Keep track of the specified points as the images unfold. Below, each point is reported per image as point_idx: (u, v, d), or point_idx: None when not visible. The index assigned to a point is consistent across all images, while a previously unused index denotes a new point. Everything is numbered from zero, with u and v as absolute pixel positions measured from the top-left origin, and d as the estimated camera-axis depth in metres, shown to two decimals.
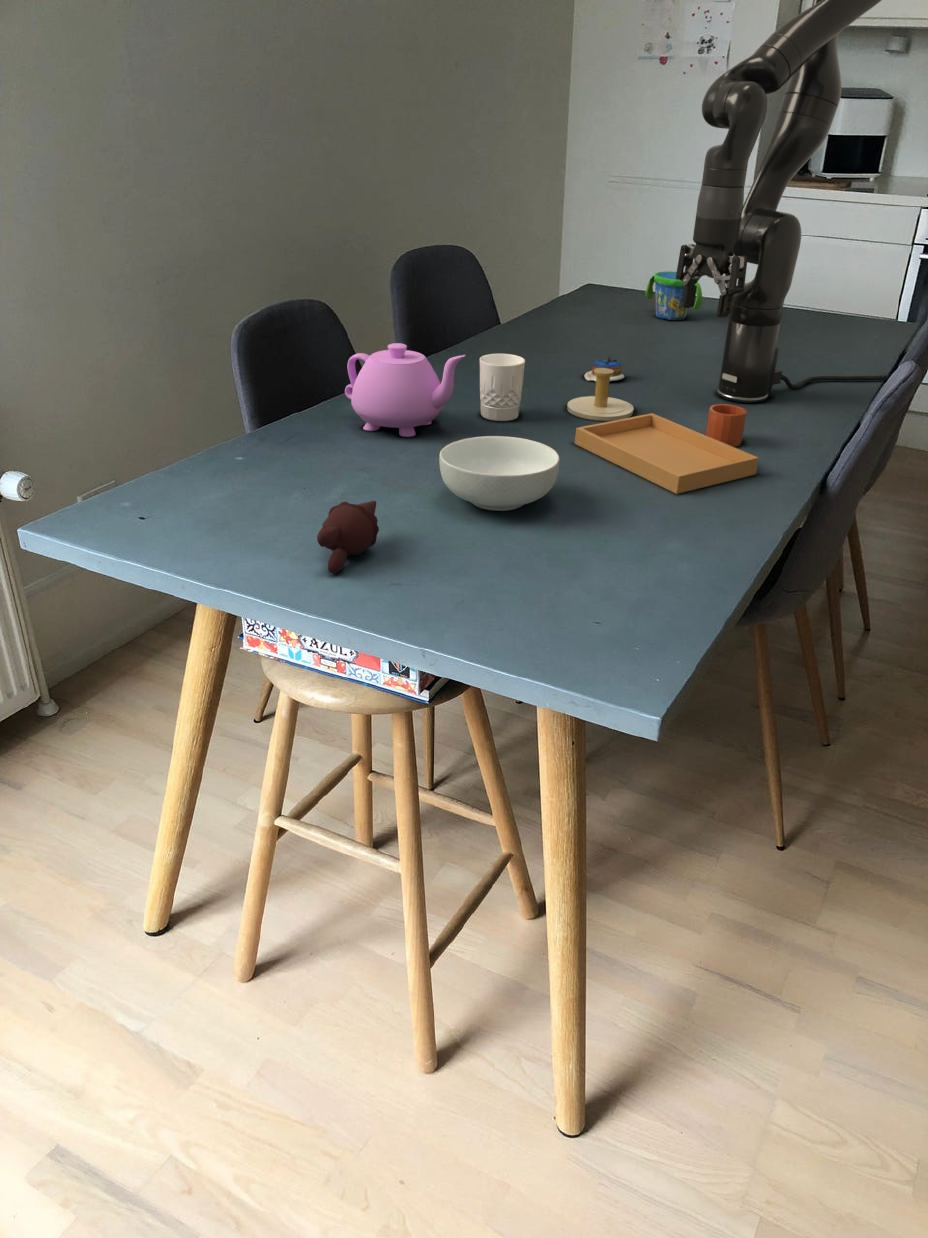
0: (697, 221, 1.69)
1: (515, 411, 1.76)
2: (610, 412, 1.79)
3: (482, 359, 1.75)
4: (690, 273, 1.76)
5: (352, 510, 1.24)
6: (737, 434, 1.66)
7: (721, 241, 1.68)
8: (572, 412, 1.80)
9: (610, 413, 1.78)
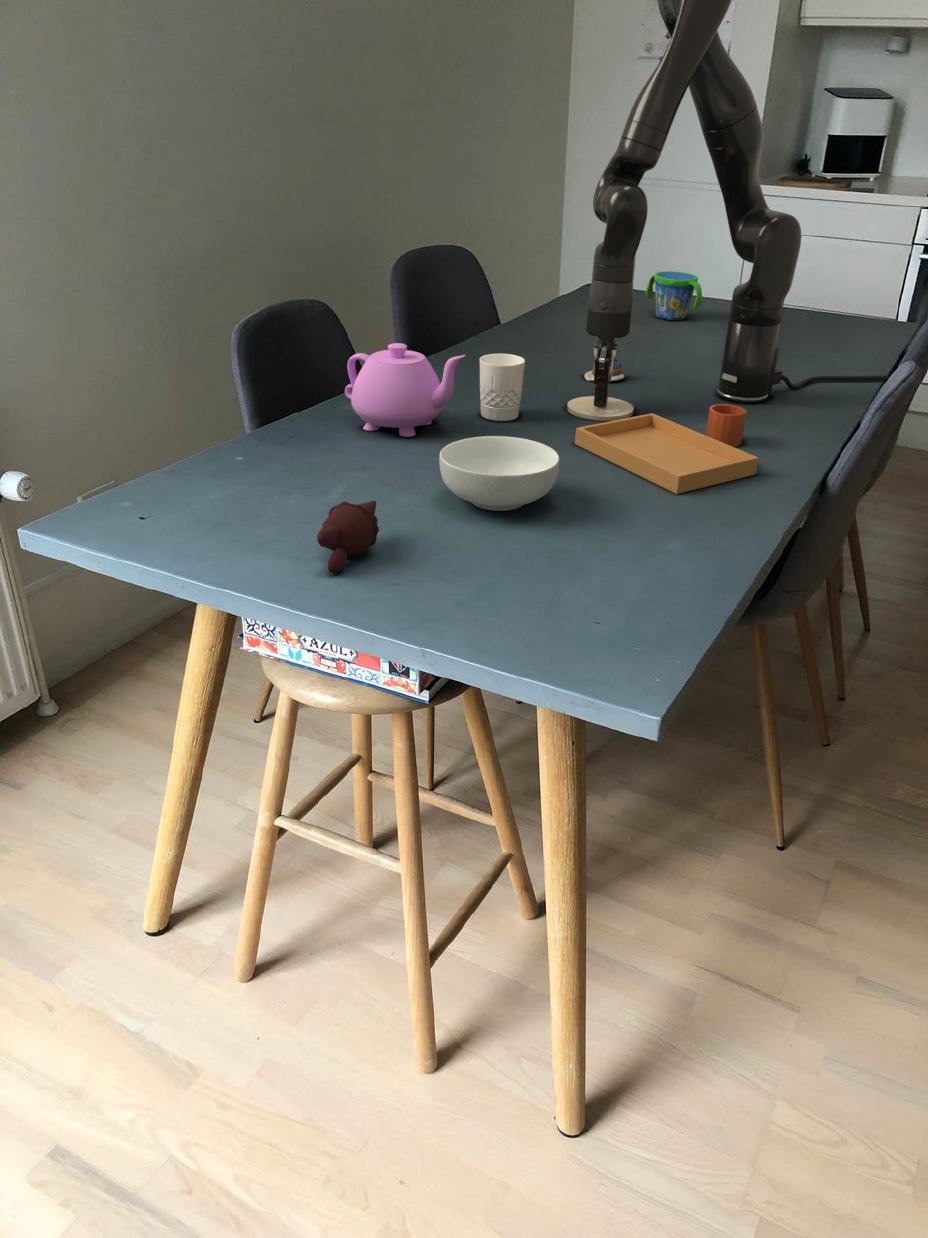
0: None
1: (515, 411, 1.76)
2: (610, 412, 1.79)
3: (482, 359, 1.75)
4: None
5: (352, 510, 1.24)
6: (737, 434, 1.66)
7: (595, 331, 1.73)
8: (572, 412, 1.80)
9: (610, 413, 1.78)
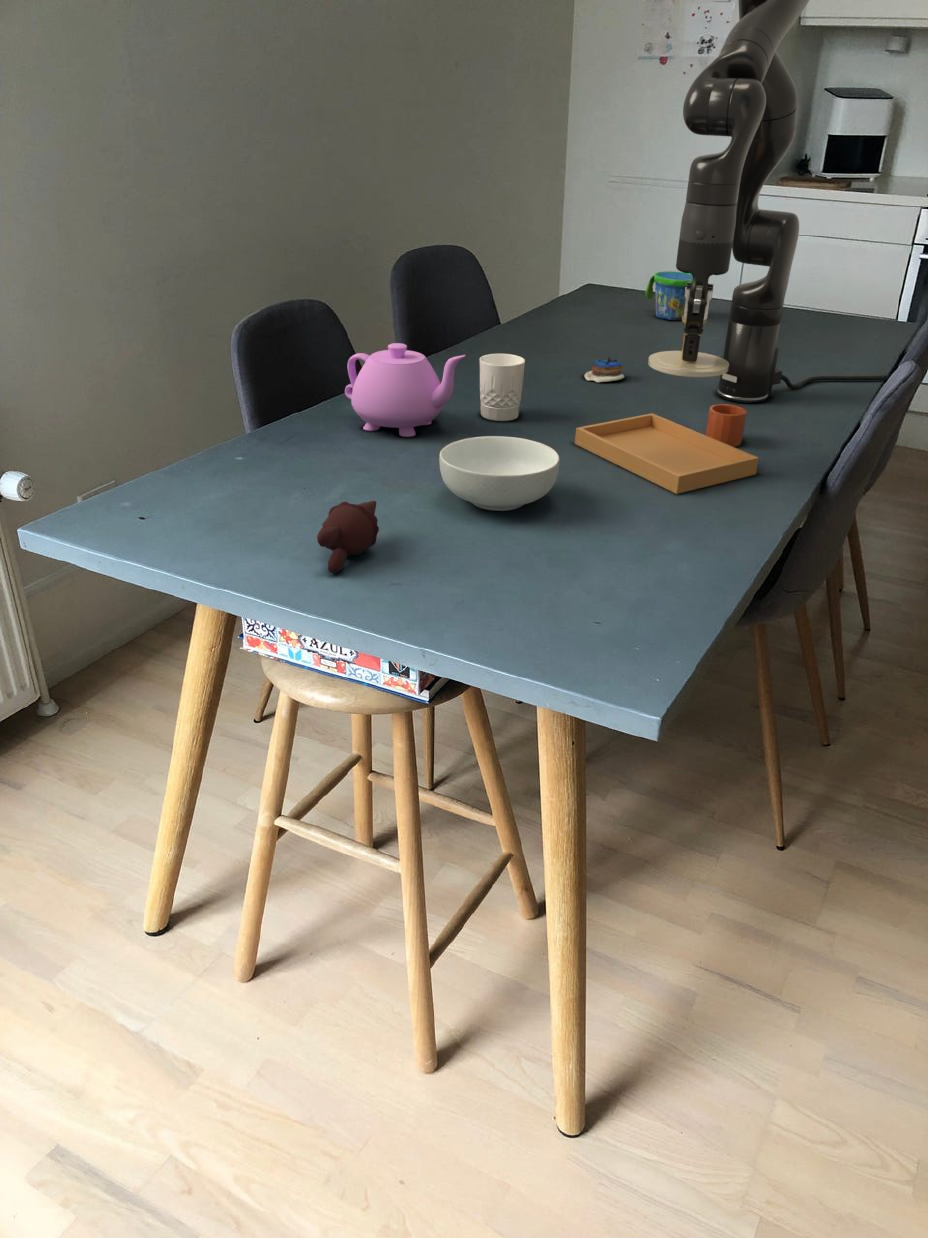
0: None
1: (515, 411, 1.76)
2: (702, 367, 1.48)
3: (482, 359, 1.75)
4: None
5: (352, 510, 1.24)
6: (737, 434, 1.66)
7: (688, 267, 1.42)
8: (656, 367, 1.49)
9: (702, 368, 1.48)
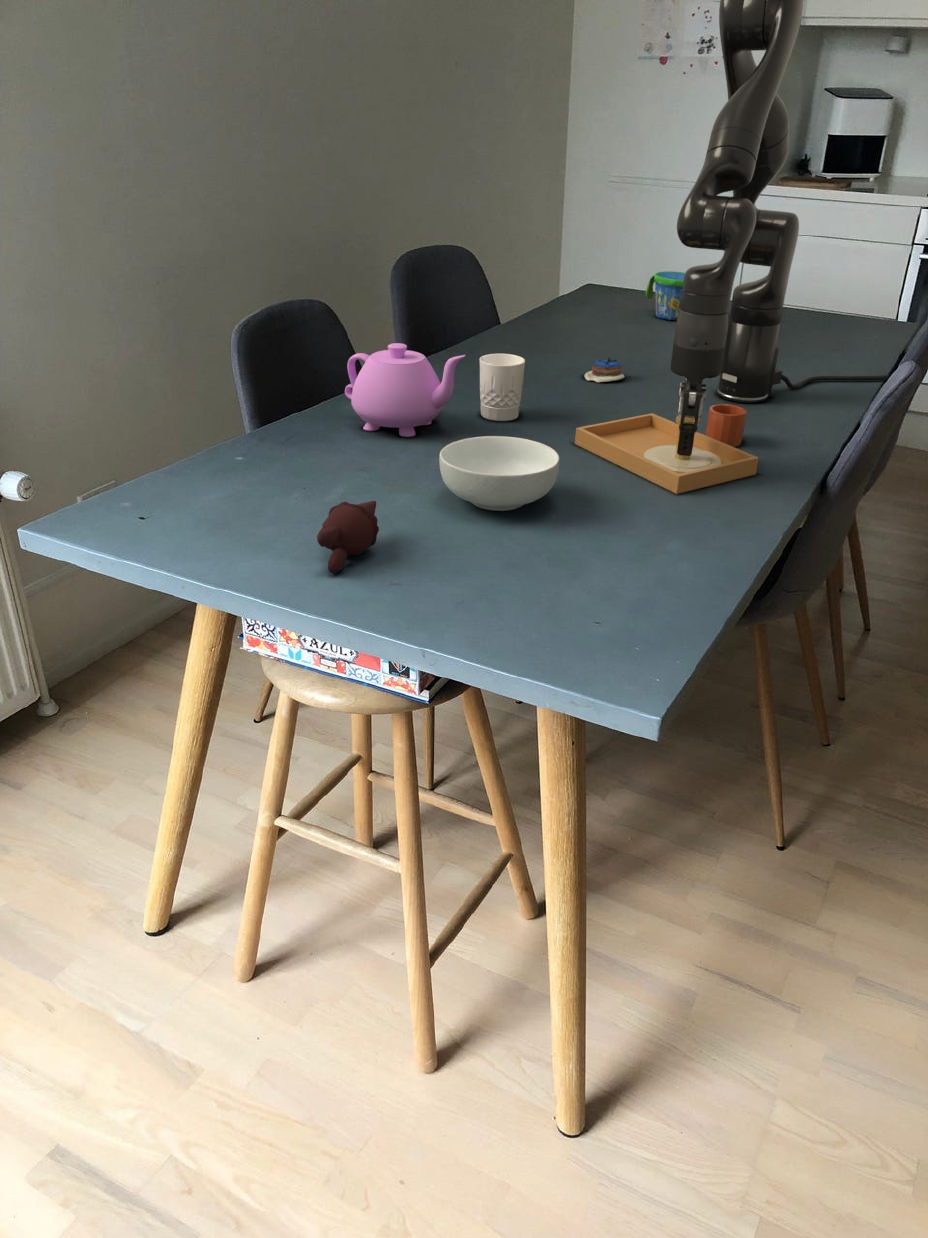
0: None
1: (515, 411, 1.76)
2: (695, 466, 1.54)
3: (482, 359, 1.75)
4: None
5: (352, 510, 1.24)
6: (737, 434, 1.66)
7: (682, 371, 1.48)
8: None
9: (696, 468, 1.53)
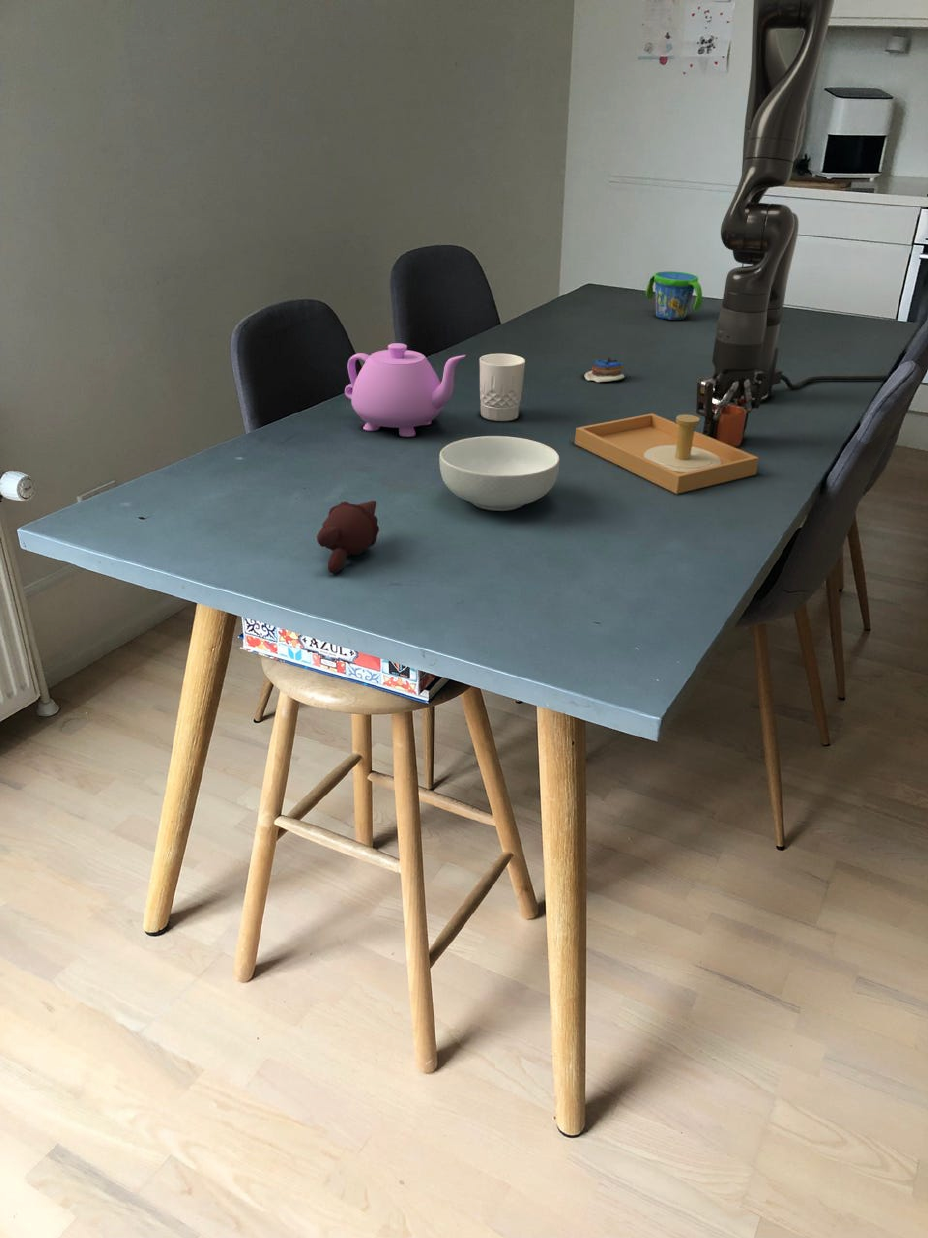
0: None
1: (515, 411, 1.76)
2: (695, 466, 1.54)
3: (482, 359, 1.75)
4: None
5: (352, 510, 1.24)
6: (737, 434, 1.66)
7: (713, 359, 1.63)
8: None
9: (696, 468, 1.53)
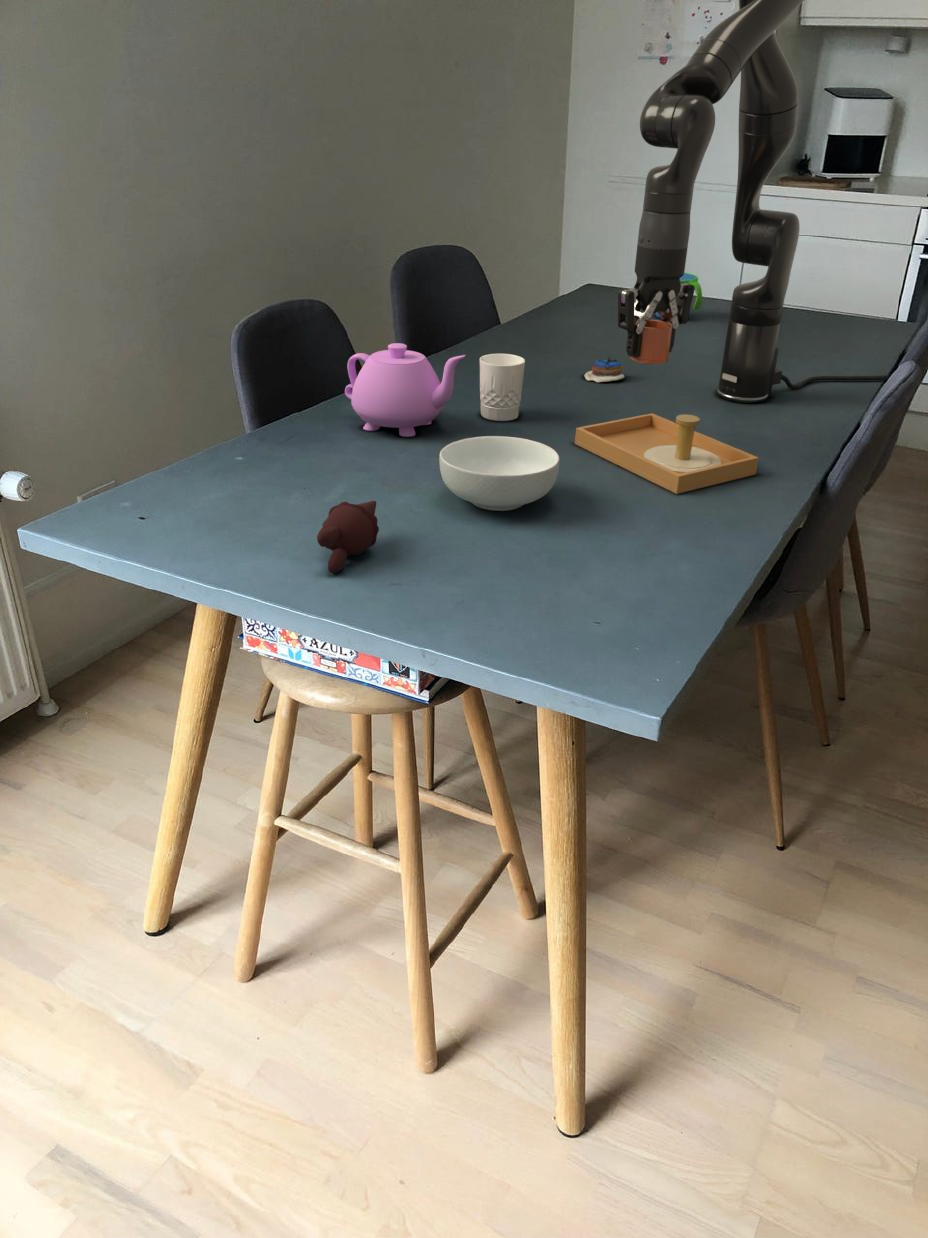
0: None
1: (515, 411, 1.76)
2: (695, 466, 1.54)
3: (482, 359, 1.75)
4: None
5: (352, 510, 1.24)
6: (662, 350, 1.56)
7: (635, 268, 1.53)
8: None
9: (696, 468, 1.53)
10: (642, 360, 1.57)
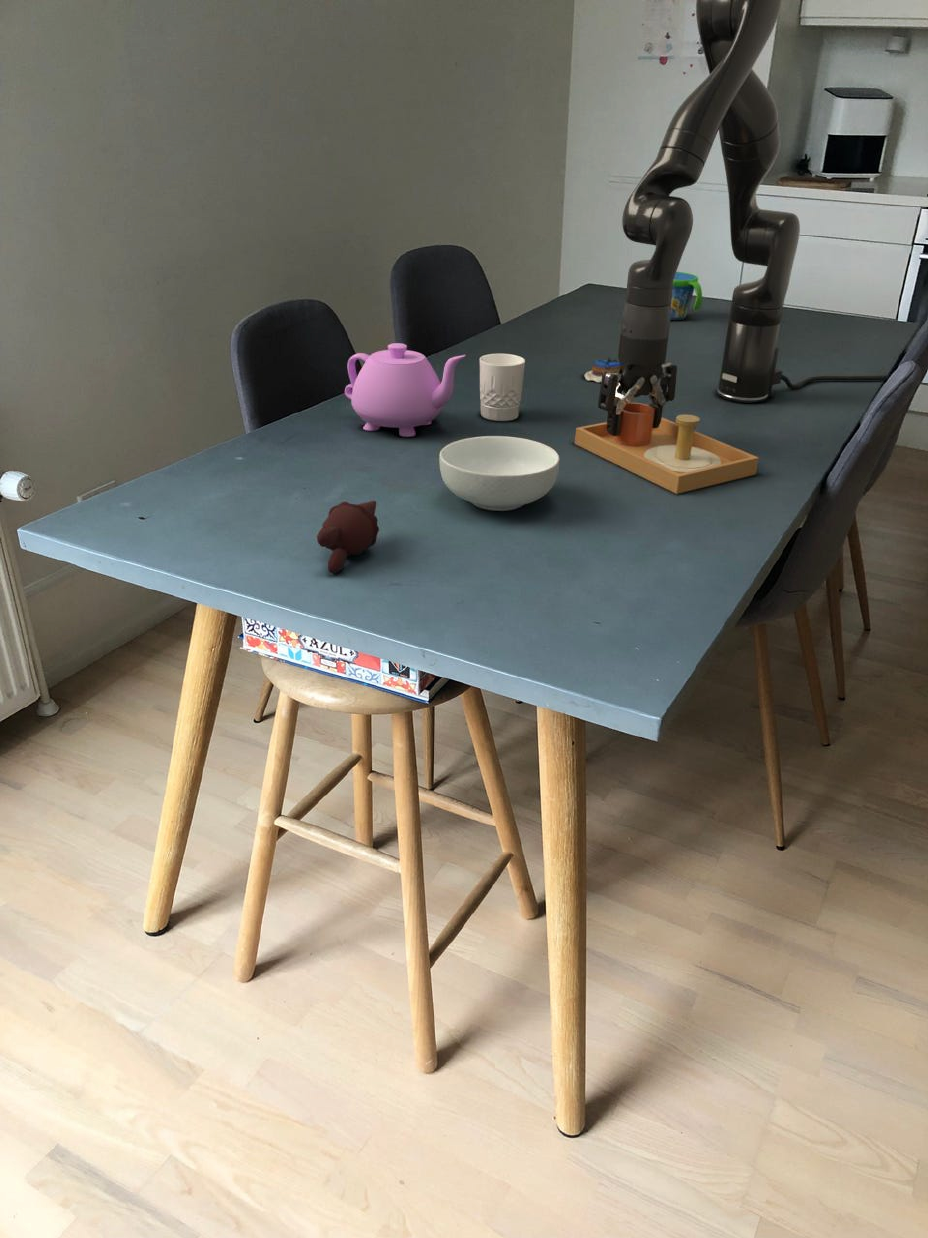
0: None
1: (515, 411, 1.76)
2: (695, 466, 1.54)
3: (482, 359, 1.75)
4: None
5: (352, 510, 1.24)
6: (645, 433, 1.63)
7: (618, 355, 1.59)
8: None
9: (696, 468, 1.53)
10: (625, 443, 1.64)
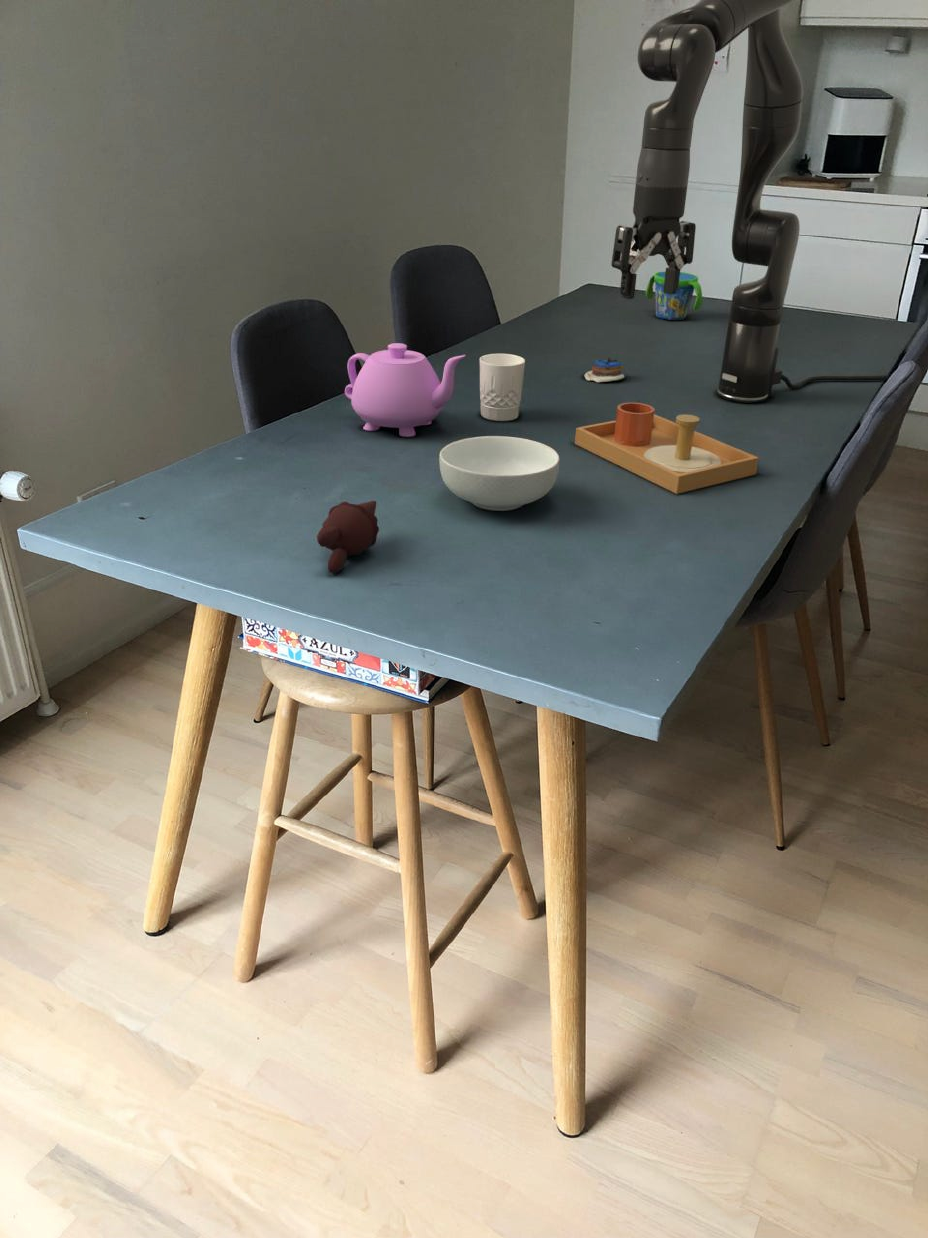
0: None
1: (515, 411, 1.76)
2: (695, 466, 1.54)
3: (482, 359, 1.75)
4: None
5: (352, 510, 1.24)
6: (645, 433, 1.63)
7: (633, 209, 1.49)
8: None
9: (696, 468, 1.53)
10: (625, 443, 1.64)
